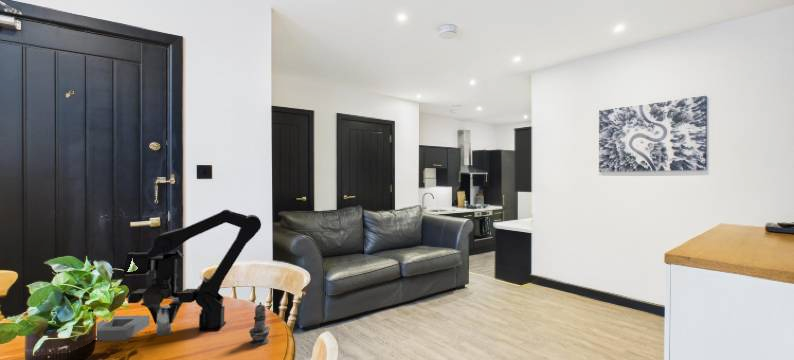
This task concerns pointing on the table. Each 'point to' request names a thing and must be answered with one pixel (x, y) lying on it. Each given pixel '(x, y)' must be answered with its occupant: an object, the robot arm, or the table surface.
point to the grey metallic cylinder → (163, 320)
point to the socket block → (121, 327)
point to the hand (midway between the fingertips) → (164, 323)
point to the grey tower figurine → (259, 327)
